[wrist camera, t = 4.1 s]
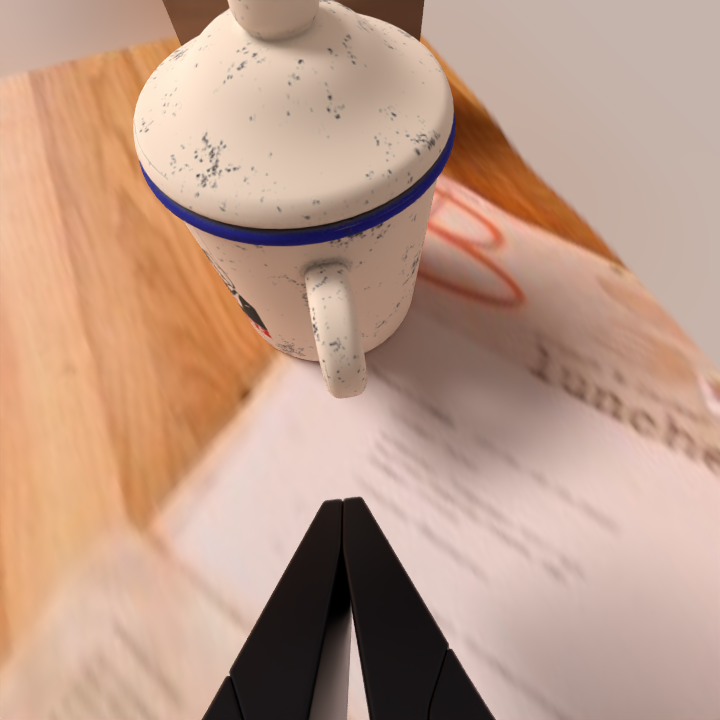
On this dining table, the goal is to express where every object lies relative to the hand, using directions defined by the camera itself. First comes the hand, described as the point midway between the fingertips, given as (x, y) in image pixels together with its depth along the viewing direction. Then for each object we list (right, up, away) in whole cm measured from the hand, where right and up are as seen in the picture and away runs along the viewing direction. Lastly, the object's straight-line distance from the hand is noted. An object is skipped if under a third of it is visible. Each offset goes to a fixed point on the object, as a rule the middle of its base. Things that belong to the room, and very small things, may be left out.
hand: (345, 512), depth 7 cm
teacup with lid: (-1, +6, +10) cm, 11 cm away
